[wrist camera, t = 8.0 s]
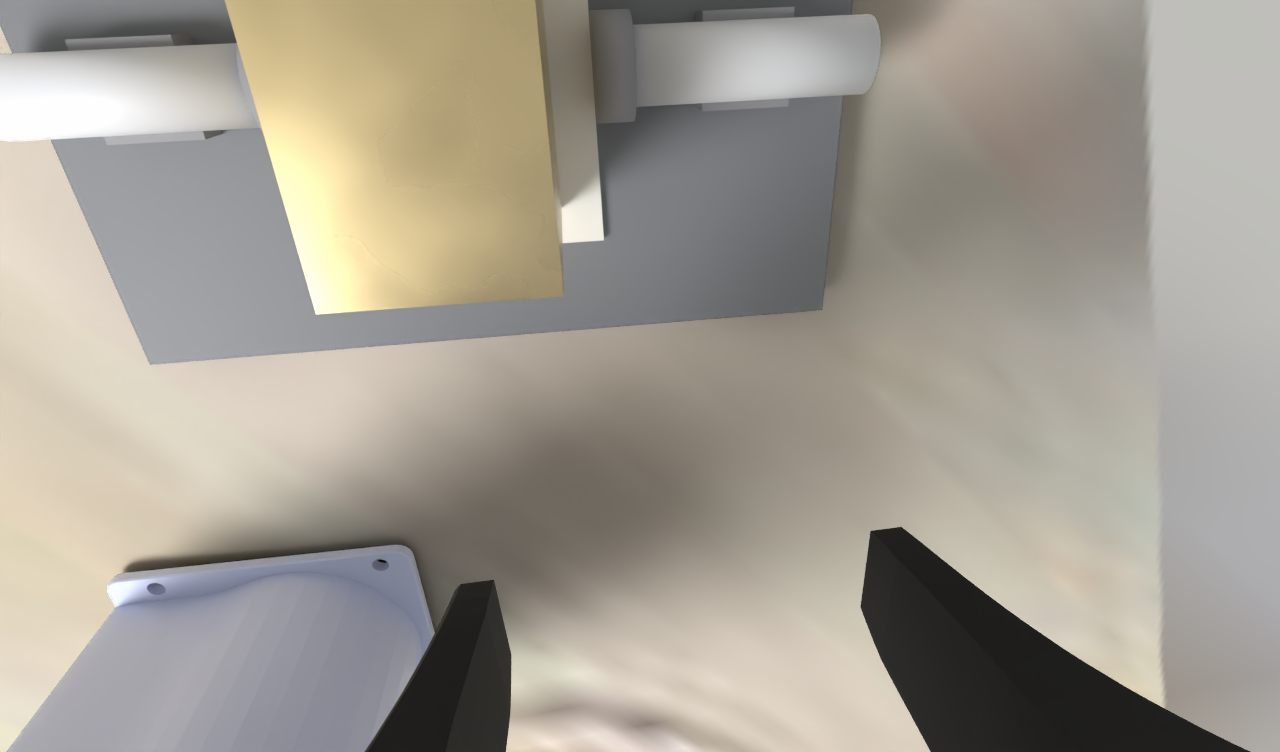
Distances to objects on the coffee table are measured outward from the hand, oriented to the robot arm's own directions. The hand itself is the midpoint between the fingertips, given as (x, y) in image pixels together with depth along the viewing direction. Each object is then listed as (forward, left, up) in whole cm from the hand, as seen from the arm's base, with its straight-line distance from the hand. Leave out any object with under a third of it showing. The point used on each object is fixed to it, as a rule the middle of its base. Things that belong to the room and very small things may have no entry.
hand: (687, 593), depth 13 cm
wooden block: (-4, +9, -7) cm, 12 cm away
